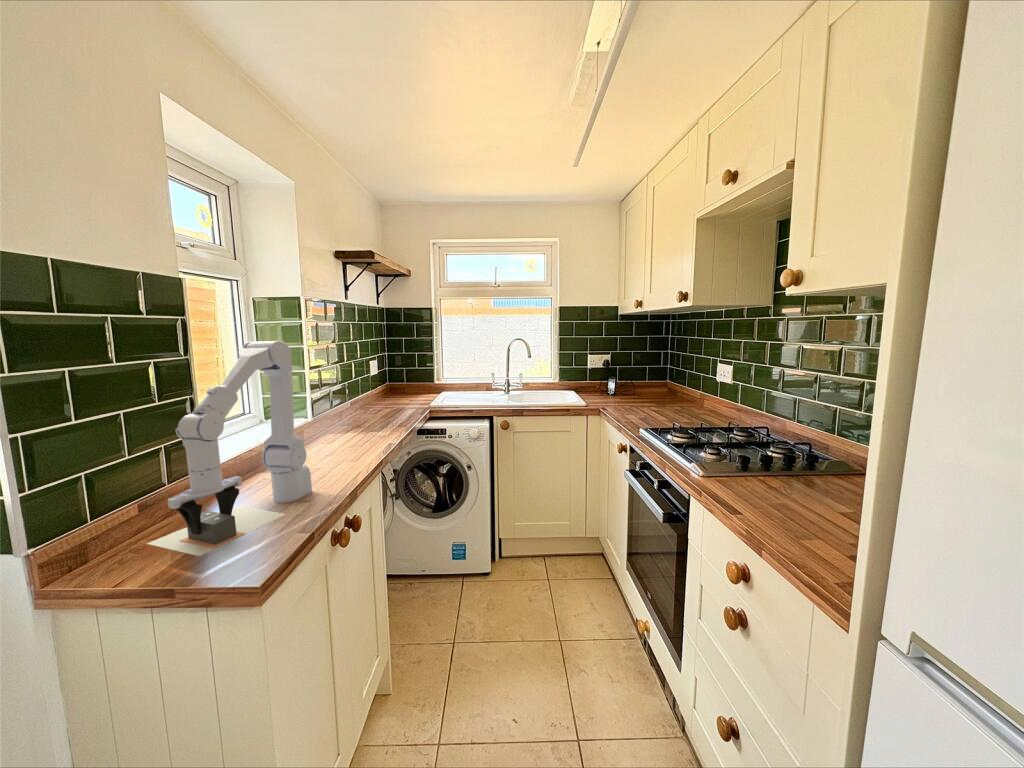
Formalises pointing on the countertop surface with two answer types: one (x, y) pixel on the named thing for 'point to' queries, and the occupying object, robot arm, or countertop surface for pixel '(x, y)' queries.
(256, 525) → the cream mat
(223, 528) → the domino block
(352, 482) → the countertop surface
